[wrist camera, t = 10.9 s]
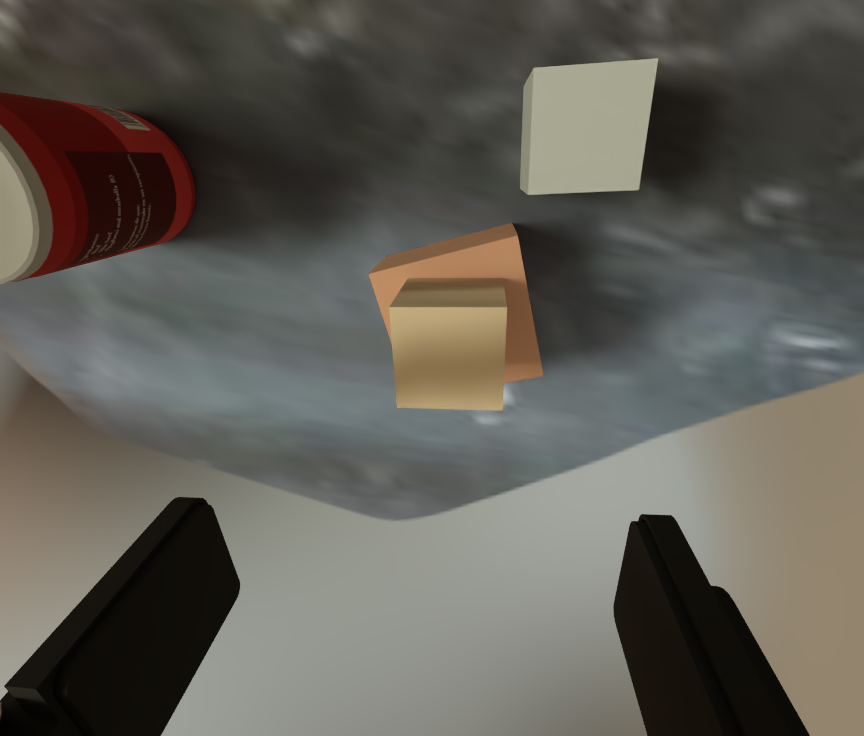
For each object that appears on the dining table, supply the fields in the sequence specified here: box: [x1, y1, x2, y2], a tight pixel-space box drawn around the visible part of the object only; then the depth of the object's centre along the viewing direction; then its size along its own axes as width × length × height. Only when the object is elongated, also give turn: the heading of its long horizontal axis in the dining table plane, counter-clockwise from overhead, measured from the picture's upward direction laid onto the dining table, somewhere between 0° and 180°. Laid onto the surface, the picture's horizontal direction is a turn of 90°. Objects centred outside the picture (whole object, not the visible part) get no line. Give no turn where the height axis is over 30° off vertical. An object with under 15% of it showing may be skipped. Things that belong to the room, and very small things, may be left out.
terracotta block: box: [369, 223, 544, 383], centre depth 26 cm, size 8×8×5 cm
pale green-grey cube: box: [520, 58, 658, 195], centre depth 21 cm, size 5×5×5 cm
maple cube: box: [389, 278, 507, 410], centre depth 21 cm, size 5×5×5 cm
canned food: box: [0, 92, 196, 284], centre depth 22 cm, size 8×8×11 cm
